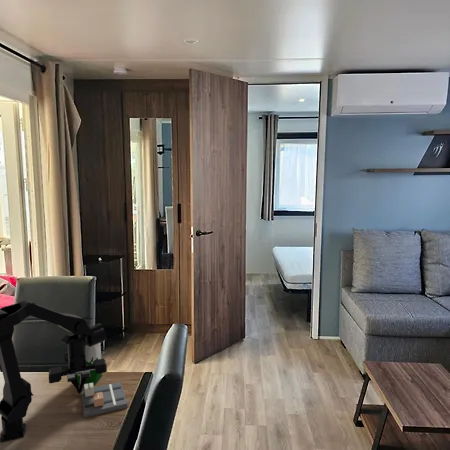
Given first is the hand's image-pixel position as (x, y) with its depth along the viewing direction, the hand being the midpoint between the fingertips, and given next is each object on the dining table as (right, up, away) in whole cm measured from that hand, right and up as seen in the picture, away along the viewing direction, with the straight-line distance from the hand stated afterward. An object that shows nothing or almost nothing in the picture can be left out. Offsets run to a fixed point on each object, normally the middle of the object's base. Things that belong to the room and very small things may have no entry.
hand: (79, 393), depth 137 cm
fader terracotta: (+8, -1, -5) cm, 9 cm away
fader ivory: (+3, -1, +1) cm, 3 cm away
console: (+8, -3, 0) cm, 9 cm away
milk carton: (-1, -1, +13) cm, 13 cm away
